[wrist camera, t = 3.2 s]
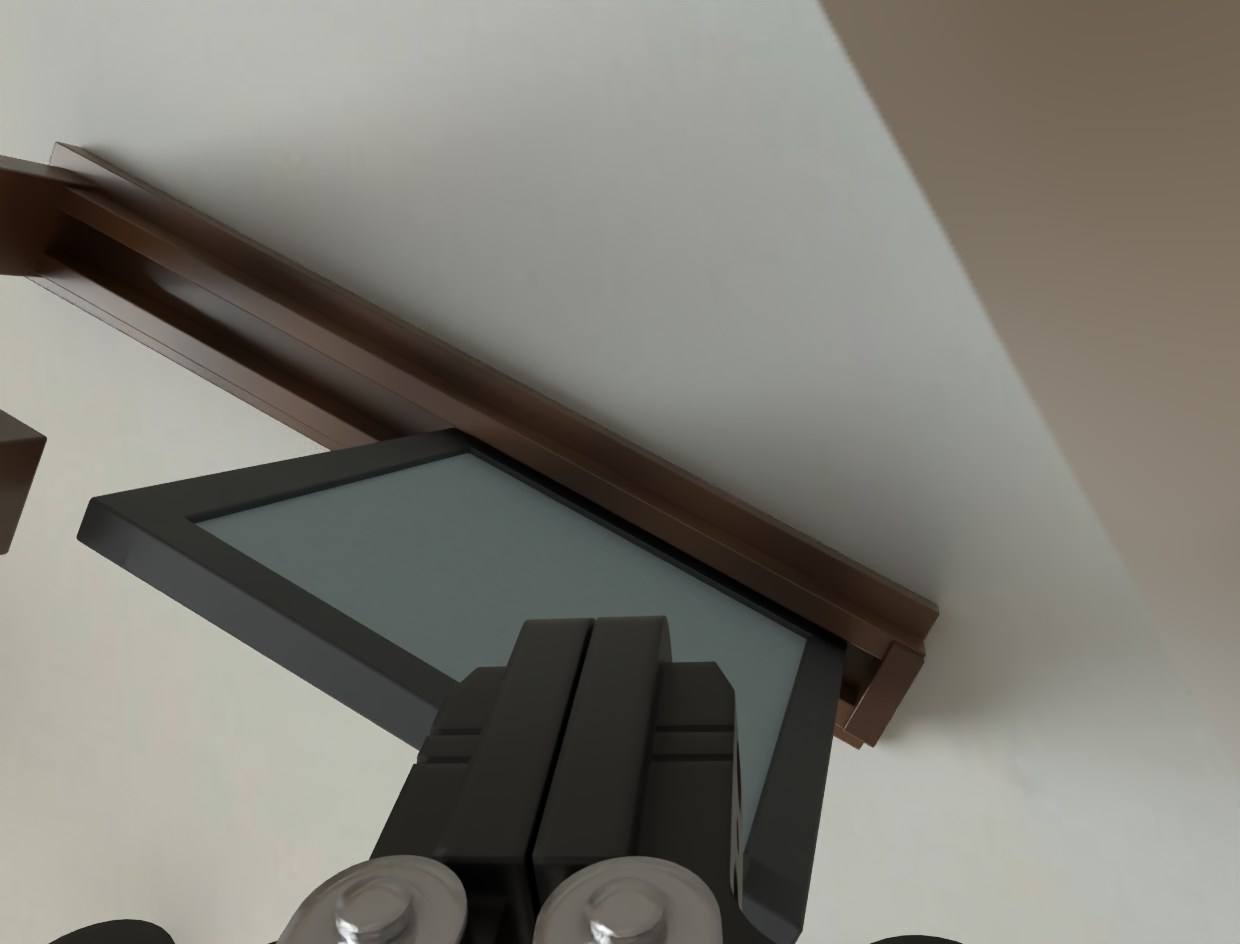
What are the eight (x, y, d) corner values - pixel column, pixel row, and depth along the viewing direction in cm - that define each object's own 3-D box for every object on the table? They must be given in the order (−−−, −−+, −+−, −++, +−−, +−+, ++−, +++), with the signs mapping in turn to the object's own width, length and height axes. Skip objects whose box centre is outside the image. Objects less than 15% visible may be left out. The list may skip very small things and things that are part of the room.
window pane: (848, 642, 31) (804, 929, 16) (834, 667, 32) (778, 974, 16) (454, 426, 34) (89, 496, 19) (443, 450, 34) (73, 539, 19)
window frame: (938, 605, 32) (997, 957, 14) (860, 739, 33) (817, 1228, 15) (76, 146, 38) (-689, -38, 19) (35, 272, 39) (-727, 210, 21)
